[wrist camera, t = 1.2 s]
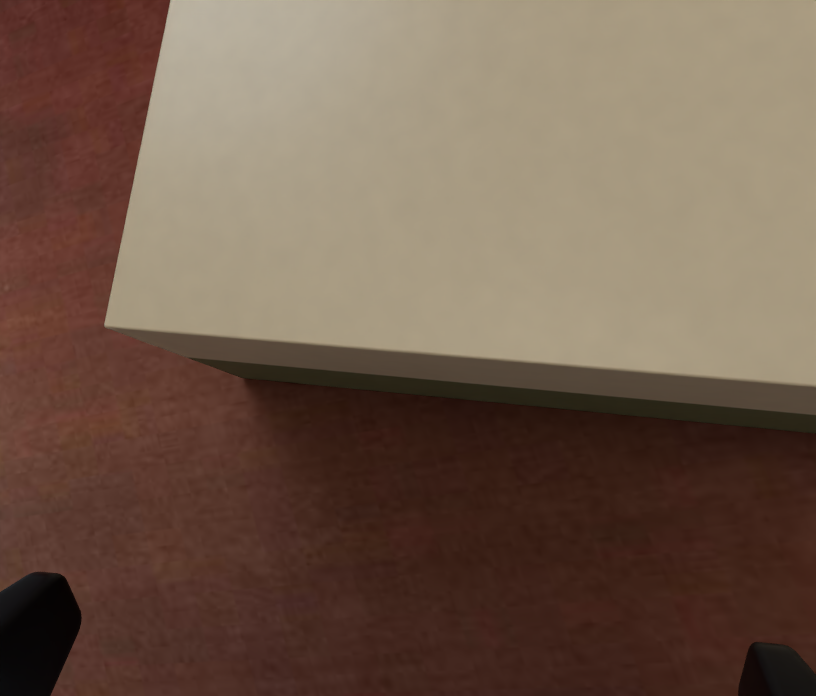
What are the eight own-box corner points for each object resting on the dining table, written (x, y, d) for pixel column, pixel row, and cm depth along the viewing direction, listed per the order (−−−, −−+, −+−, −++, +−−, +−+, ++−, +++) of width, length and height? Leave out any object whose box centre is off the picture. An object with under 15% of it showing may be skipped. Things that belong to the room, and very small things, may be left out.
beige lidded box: (862, 438, 20) (1067, 408, 12) (241, 377, 24) (102, 327, 16) (861, -36, 23) (1026, -301, 15) (306, -19, 27) (214, -221, 19)
